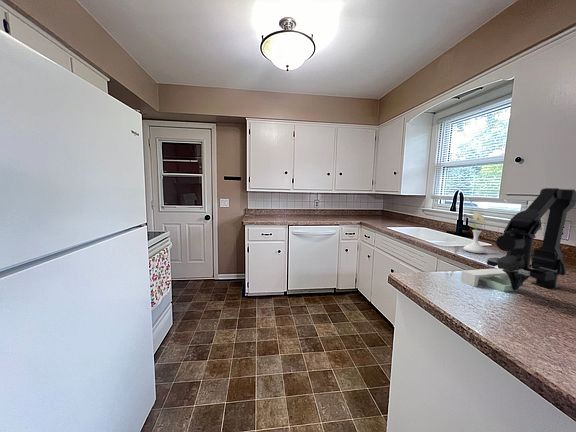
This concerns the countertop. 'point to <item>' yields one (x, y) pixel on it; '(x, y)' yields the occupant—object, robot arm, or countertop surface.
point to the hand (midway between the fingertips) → (514, 290)
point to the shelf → (473, 276)
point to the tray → (498, 283)
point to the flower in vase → (476, 236)
